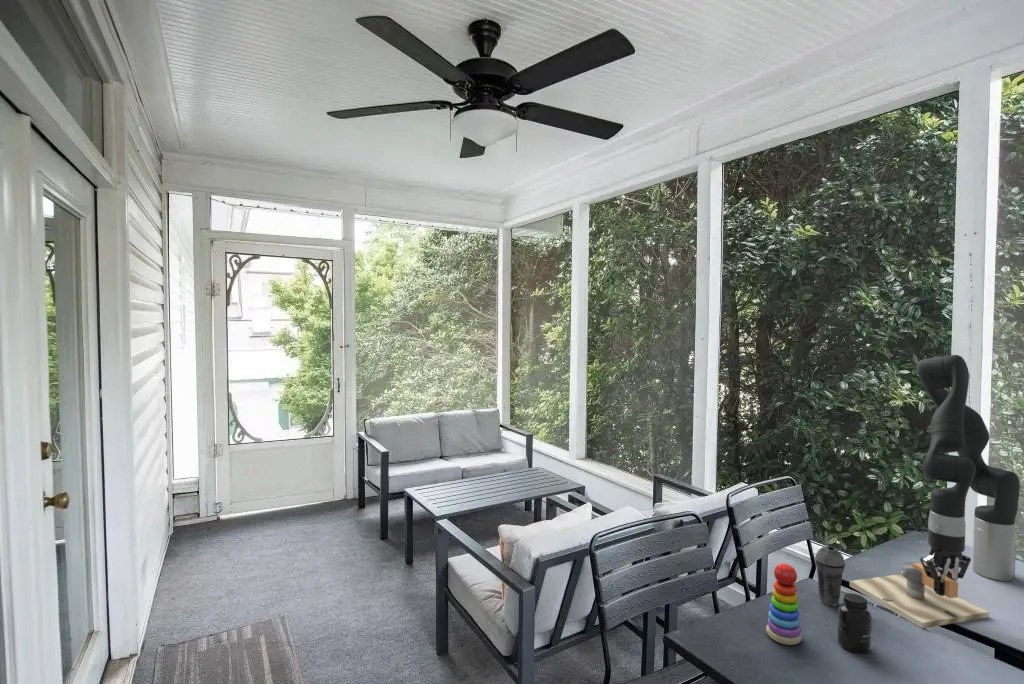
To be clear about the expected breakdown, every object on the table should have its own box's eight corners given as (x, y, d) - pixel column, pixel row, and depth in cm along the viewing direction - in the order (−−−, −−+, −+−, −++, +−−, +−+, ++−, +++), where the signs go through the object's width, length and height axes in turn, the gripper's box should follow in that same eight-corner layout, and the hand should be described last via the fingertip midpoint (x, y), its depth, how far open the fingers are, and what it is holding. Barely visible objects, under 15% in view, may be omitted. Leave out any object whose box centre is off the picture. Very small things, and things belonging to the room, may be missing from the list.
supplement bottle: (871, 658, 123) (872, 608, 122) (837, 648, 126) (838, 600, 126) (870, 643, 129) (871, 595, 128) (837, 634, 132) (838, 587, 132)
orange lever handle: (892, 572, 150) (893, 559, 150) (918, 570, 151) (919, 557, 151) (939, 599, 136) (939, 583, 136) (967, 596, 137) (968, 581, 137)
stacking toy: (758, 631, 133) (760, 559, 133) (781, 624, 136) (783, 554, 136) (785, 649, 126) (786, 573, 125) (809, 642, 129) (810, 567, 128)
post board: (909, 577, 161) (910, 556, 160) (988, 617, 139) (989, 593, 139) (849, 585, 156) (850, 564, 156) (922, 628, 134) (922, 603, 134)
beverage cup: (850, 609, 143) (851, 537, 143) (823, 609, 144) (824, 537, 143) (834, 595, 151) (835, 526, 150) (808, 595, 151) (810, 526, 150)
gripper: (954, 522, 143) (952, 584, 144) (910, 525, 141) (908, 588, 141) (983, 533, 135) (981, 599, 136) (937, 537, 133) (935, 603, 134)
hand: (944, 593), depth 139 cm, fingers closed on orange lever handle, 2 cm apart
